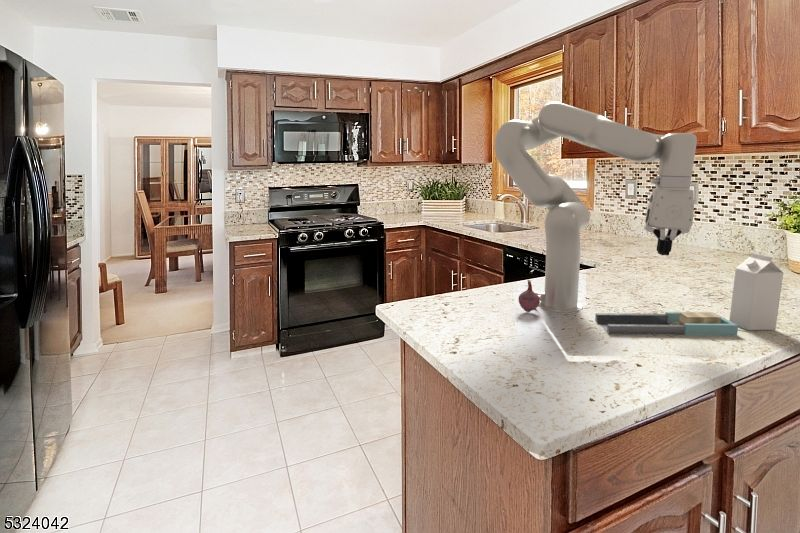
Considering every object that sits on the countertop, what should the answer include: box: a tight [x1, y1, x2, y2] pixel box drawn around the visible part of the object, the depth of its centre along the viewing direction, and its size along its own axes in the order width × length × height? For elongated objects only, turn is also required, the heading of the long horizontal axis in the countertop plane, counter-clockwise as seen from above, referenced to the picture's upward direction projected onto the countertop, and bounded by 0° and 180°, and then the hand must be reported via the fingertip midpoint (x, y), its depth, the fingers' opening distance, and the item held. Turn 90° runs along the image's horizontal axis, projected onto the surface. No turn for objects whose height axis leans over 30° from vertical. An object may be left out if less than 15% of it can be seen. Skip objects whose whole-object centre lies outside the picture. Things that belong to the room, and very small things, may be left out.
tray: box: [664, 311, 739, 336], centre depth 122 cm, size 12×11×4 cm
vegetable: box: [517, 279, 541, 313], centre depth 140 cm, size 6×6×10 cm
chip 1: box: [678, 313, 704, 325], centre depth 122 cm, size 4×4×4 cm
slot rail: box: [594, 312, 686, 336], centre depth 123 cm, size 18×11×3 cm, turn 85°
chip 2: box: [698, 312, 722, 324], centre depth 122 cm, size 4×4×4 cm
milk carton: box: [728, 252, 784, 331], centre depth 124 cm, size 7×7×19 cm
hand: (663, 254), depth 126 cm, fingers closed
